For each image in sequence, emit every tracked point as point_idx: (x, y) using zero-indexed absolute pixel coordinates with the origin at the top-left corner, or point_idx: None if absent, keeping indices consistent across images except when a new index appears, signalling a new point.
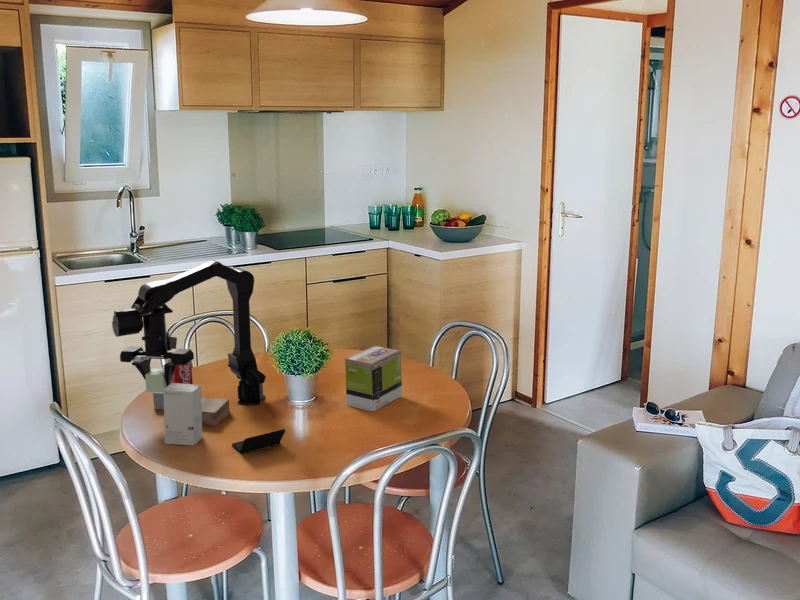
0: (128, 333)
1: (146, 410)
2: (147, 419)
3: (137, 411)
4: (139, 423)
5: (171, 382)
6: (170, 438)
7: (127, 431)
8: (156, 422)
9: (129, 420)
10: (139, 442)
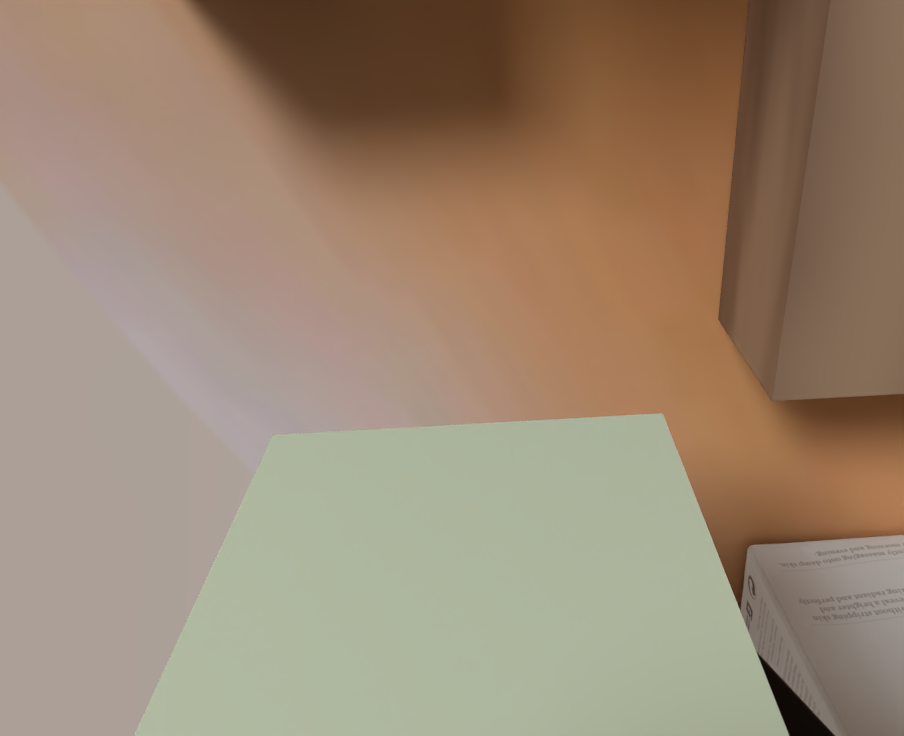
0: None
1: (91, 31)
2: (298, 282)
3: (17, 93)
4: (291, 383)
5: (687, 494)
6: None
7: None
8: (437, 330)
9: (145, 342)
10: None
